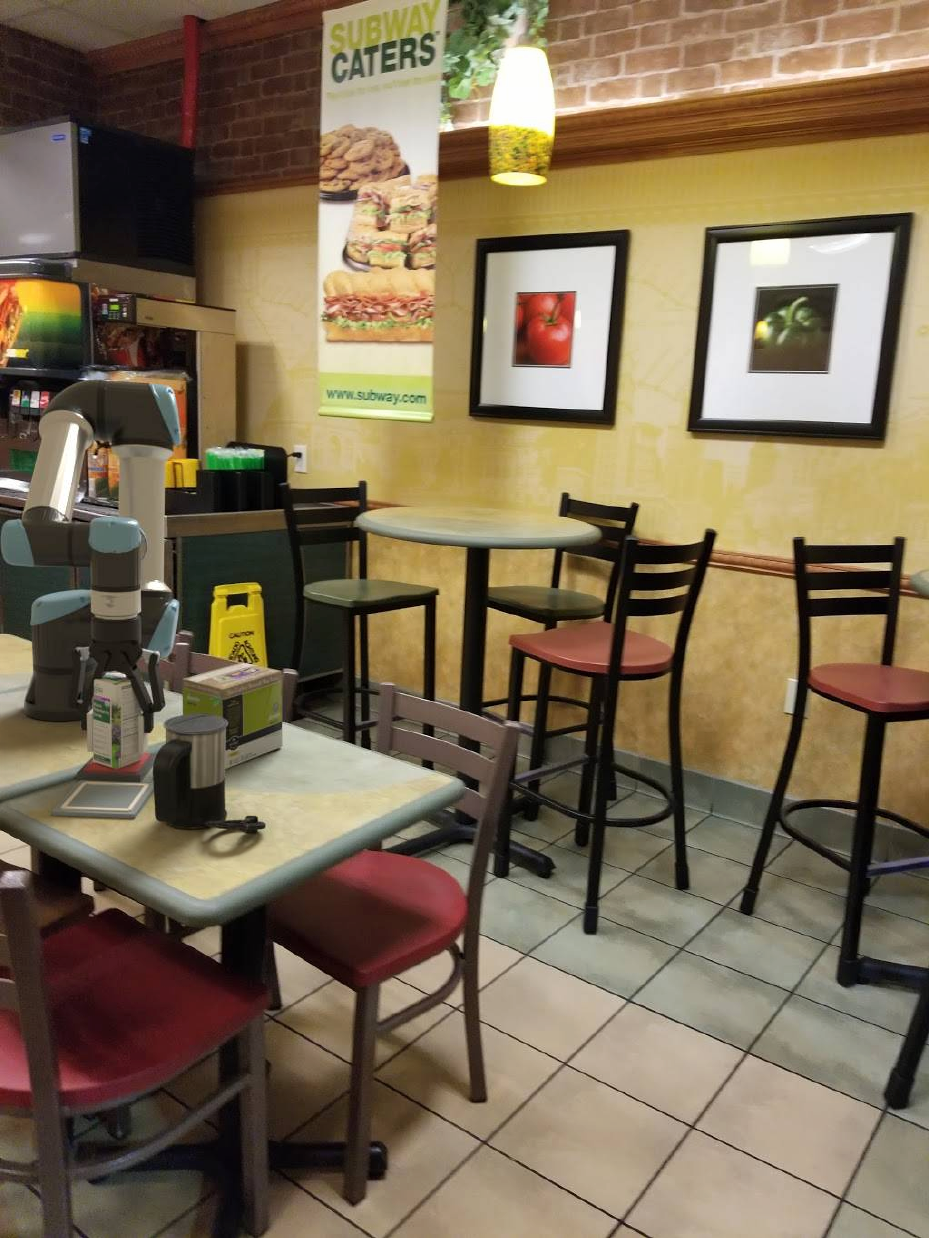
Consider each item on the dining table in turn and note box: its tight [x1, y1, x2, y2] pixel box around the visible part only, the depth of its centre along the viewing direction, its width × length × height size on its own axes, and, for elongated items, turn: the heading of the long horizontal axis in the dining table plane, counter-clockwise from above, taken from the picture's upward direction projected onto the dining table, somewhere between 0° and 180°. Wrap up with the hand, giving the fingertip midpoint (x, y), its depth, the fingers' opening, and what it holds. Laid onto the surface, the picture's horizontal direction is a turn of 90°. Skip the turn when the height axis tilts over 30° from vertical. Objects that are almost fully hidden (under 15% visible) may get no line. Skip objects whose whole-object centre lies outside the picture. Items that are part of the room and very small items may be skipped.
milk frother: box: [152, 714, 266, 835], centre depth 134 cm, size 14×16×15 cm
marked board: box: [50, 780, 154, 819], centre depth 142 cm, size 12×12×1 cm
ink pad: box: [76, 752, 157, 783], centre depth 154 cm, size 10×10×2 cm
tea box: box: [181, 661, 283, 770], centre depth 163 cm, size 15×10×15 cm, turn 149°
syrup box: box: [92, 672, 143, 770], centre depth 152 cm, size 6×6×14 cm
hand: (118, 749), depth 153 cm, fingers closed on syrup box, 7 cm apart
